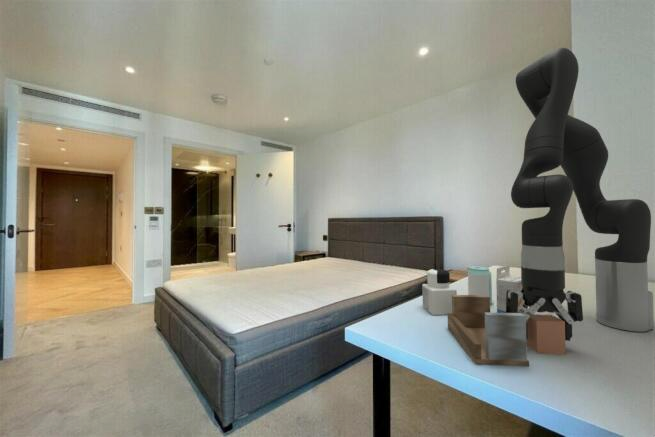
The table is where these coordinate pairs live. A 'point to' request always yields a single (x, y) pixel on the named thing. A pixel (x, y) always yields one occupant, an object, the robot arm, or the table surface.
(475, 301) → the shelf
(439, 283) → the container
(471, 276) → the can
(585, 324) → the table surface
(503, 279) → the ink box
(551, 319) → the book
